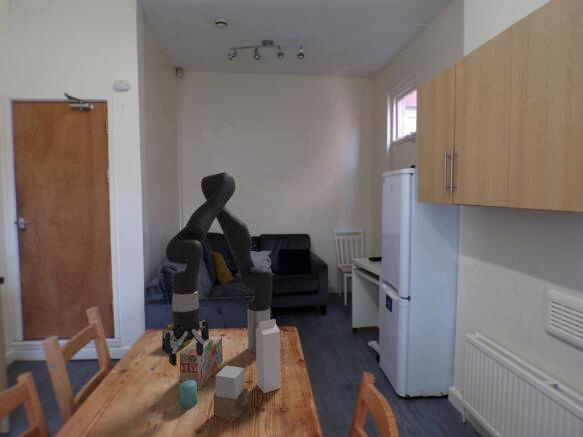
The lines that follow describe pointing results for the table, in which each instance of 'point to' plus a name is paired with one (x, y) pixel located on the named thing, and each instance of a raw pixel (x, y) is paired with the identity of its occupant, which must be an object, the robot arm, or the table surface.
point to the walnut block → (231, 406)
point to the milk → (268, 356)
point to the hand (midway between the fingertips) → (186, 360)
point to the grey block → (230, 382)
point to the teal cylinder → (188, 394)
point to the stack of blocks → (201, 361)
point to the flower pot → (177, 339)
